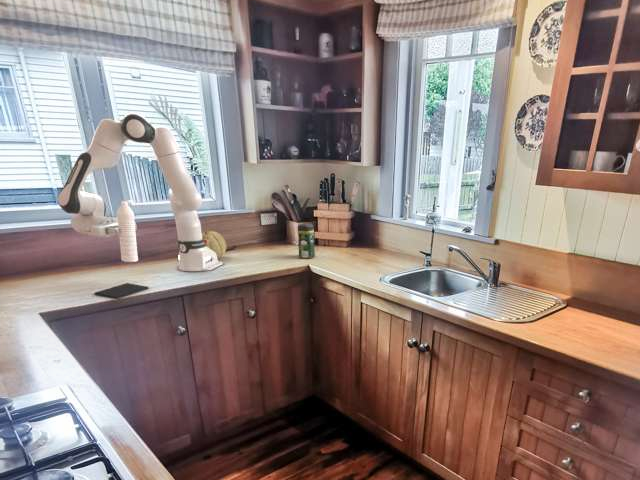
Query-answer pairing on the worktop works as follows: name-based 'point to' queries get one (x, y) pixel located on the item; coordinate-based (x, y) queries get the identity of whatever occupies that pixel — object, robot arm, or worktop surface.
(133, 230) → the water bottle
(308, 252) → the pickle jar
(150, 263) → the worktop surface
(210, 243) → the ribbed yellow melon
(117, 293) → the mat
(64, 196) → the robot arm
